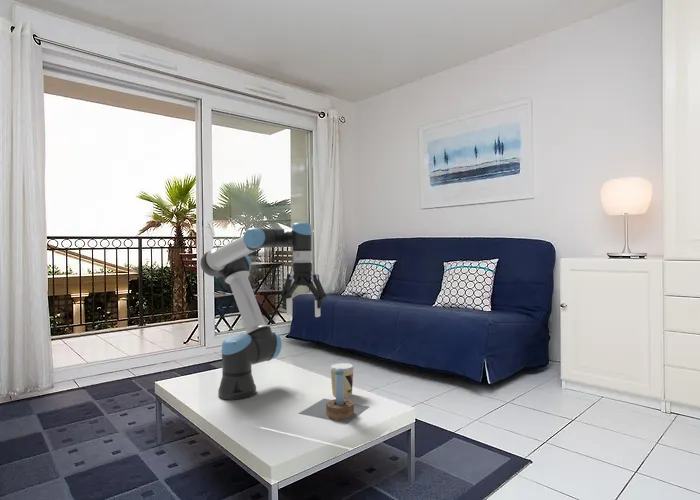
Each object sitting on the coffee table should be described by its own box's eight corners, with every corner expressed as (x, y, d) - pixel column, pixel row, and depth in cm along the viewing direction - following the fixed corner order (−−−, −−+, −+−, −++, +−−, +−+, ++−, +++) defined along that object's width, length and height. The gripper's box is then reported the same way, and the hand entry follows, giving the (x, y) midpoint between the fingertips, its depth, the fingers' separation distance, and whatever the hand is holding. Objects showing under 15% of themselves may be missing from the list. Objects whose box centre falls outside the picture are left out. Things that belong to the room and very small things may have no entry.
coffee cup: (351, 400, 170) (351, 369, 170) (328, 399, 172) (327, 368, 172) (356, 392, 180) (355, 363, 179) (333, 391, 181) (333, 362, 181)
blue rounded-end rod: (334, 415, 154) (333, 370, 154) (338, 412, 156) (337, 367, 156) (341, 416, 152) (340, 371, 152) (345, 414, 155) (344, 368, 155)
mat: (298, 414, 156) (298, 413, 156) (323, 399, 171) (323, 398, 171) (347, 425, 147) (347, 423, 147) (369, 408, 162) (369, 406, 162)
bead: (322, 416, 153) (322, 405, 153) (335, 408, 161) (335, 397, 161) (344, 421, 148) (344, 409, 148) (357, 412, 156) (357, 401, 156)
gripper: (271, 262, 176) (272, 315, 176) (324, 262, 164) (325, 319, 164) (282, 261, 183) (283, 312, 183) (334, 261, 171) (335, 316, 171)
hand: (303, 315), depth 174 cm, fingers open, 13 cm apart
